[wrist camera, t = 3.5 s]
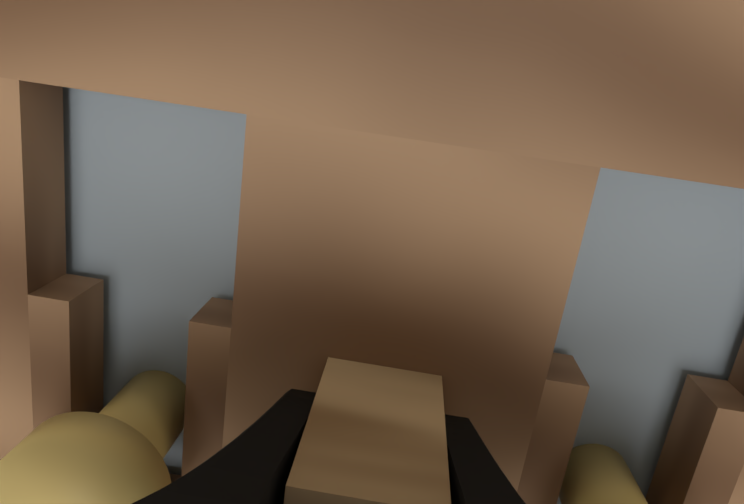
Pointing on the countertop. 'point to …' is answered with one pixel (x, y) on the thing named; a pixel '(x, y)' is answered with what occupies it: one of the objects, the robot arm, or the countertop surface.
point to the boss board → (216, 279)
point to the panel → (380, 221)
